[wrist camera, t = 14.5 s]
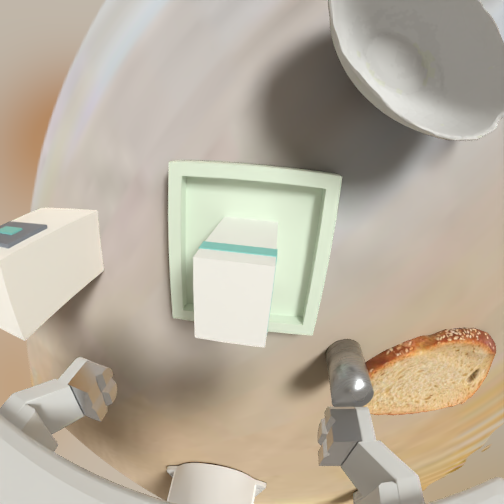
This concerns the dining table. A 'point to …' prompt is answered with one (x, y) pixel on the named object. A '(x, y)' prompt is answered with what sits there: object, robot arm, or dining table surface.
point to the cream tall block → (45, 264)
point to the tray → (260, 208)
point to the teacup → (424, 62)
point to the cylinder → (348, 375)
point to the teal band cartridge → (235, 281)
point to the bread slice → (430, 371)
